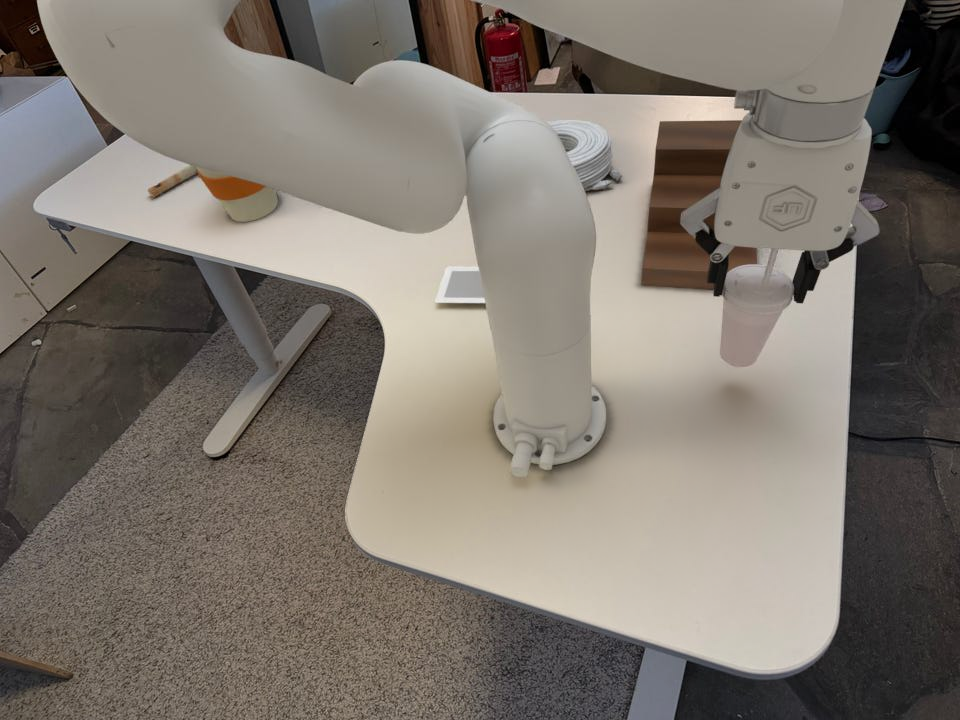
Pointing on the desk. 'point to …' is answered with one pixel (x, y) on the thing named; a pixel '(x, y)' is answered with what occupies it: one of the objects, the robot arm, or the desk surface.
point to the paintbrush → (172, 180)
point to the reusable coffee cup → (240, 195)
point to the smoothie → (752, 309)
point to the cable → (587, 151)
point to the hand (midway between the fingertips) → (756, 289)
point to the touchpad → (461, 285)
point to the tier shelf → (686, 202)
